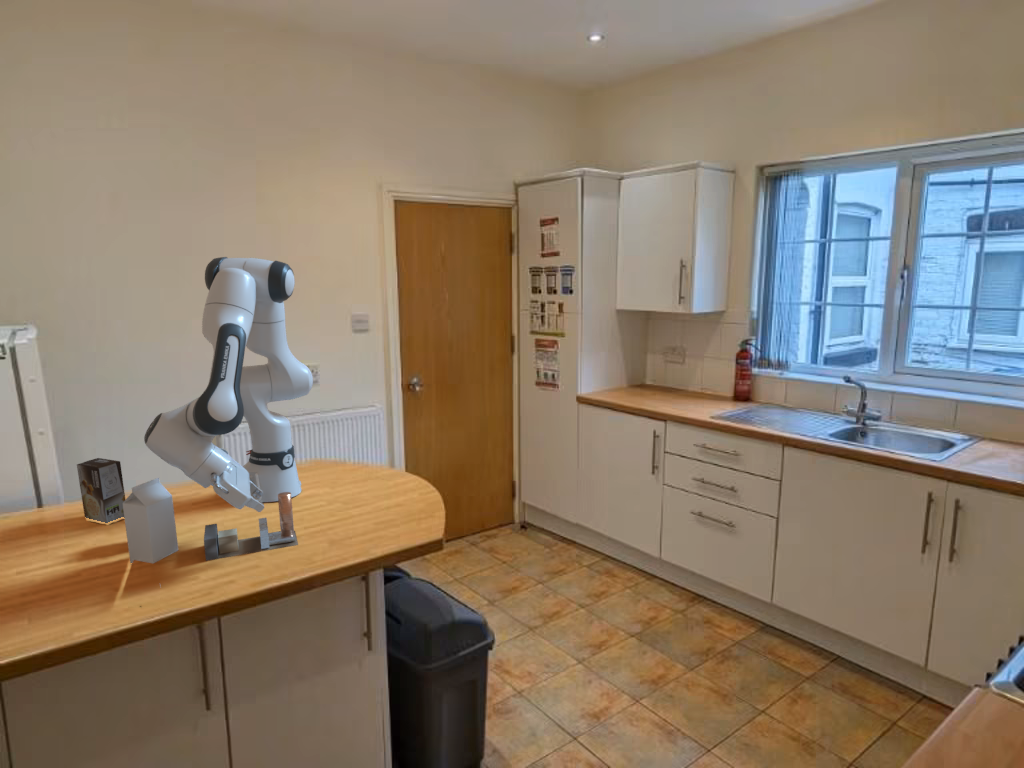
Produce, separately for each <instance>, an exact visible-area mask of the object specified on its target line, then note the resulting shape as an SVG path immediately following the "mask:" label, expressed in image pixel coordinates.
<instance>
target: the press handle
mask: <svg viewBox="0 0 1024 768" xmlns="http://www.w3.org/2000/svg"><path fill="white" fill-rule="evenodd" d="M292 500H293V499H292V498H291V493H290V492H283V493H279V494H278V501H277V503H278V514H279V525H280V531H274V532H269V527H268V519H267V517H260V518H258V524H259V525H258V528H259V536H260V540H261V549H265V548H270V546H269V545H273V544H279V543H285V542H291V541H295V535H294V531H295V527H294V526H295V525H294V514H293V503H292V502H293V501H292Z"/></svg>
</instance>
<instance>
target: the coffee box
mask: <svg viewBox="0 0 1024 768" xmlns="http://www.w3.org/2000/svg"><path fill="white" fill-rule="evenodd" d="M76 468H77V475H78V481H79V488H80V493H81V502H82V507H83V515H84V518H85V517H86V518H89V519H93V520H97V521H101V522H105V523H108V522H110V521H113V520H116V519H118V518H121V517H124V511H123V502H124V501H125V500H126V494H125V487H124V480H123V471H122V466H121V461H120V460H113V459H107V458H100V457H96V458H92V459H90V460H86V461H83V462H81V463H78V464H76Z"/></svg>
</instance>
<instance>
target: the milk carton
mask: <svg viewBox="0 0 1024 768" xmlns="http://www.w3.org/2000/svg"><path fill="white" fill-rule="evenodd" d="M174 509H175V507H174V501H173V495H172V494H171V493H170V492H169V491H168V490H167V488H166V487H165V486H164V485H163V484H162V483H161V482H160V477H157V478H154V479H150V480H149V481H145V482H143V483H141V484H138V485H136V486H133V487H131V493H130V494H129V495H128V496H127V498H125V501H124V502H123V511H124V518H125V519H124V523H125V531H126V540H127V548H128V555H129V563H133V564H134V561H137V562H138V561H139V562H143V563H148V564H149V563H150V564H155V563H158V562H159V561H161V560H163V559H164V558H167V557H168V556H170V555H172V554H175V553H176V552H178V551H179V543H178V537H177V528H176V525H177V524H176V518H175V510H174Z"/></svg>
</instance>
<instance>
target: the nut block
mask: <svg viewBox="0 0 1024 768" xmlns="http://www.w3.org/2000/svg"><path fill="white" fill-rule="evenodd" d="M238 540H239V539H238V528H231V529H224V530H218V542H219V552H220V554H222V553H228V552H234V551H238Z"/></svg>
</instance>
